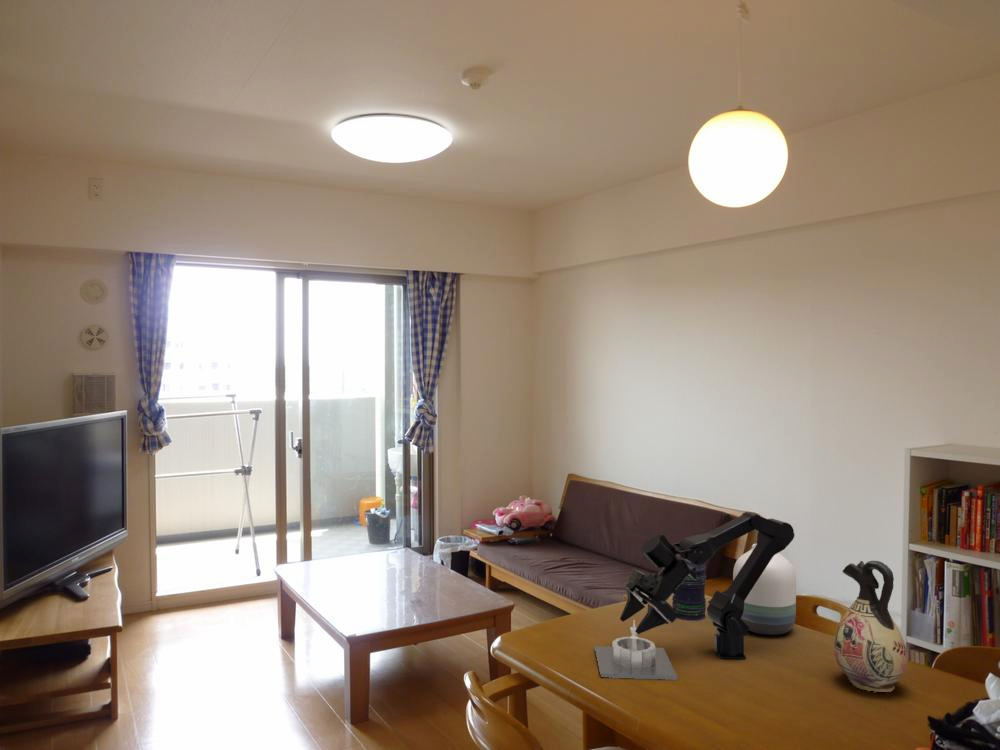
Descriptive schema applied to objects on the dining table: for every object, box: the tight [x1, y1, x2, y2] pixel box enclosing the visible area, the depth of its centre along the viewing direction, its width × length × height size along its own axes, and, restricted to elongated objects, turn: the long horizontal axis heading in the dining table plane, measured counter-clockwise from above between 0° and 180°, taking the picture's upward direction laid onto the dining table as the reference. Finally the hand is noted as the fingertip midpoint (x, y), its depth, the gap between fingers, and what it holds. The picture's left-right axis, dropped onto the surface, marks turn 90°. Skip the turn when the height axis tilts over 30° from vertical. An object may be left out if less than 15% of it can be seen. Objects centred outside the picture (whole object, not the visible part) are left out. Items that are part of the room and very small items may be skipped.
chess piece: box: [629, 619, 639, 650], centre depth 179 cm, size 5×5×10 cm
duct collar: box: [594, 636, 678, 681], centre depth 179 cm, size 18×18×5 cm
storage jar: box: [671, 561, 707, 622], centre depth 217 cm, size 10×10×15 cm
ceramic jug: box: [833, 560, 908, 693], centre depth 166 cm, size 17×15×30 cm
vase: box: [732, 543, 797, 636], centre depth 205 cm, size 17×17×24 cm
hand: (628, 626), depth 179 cm, fingers open, 9 cm apart
